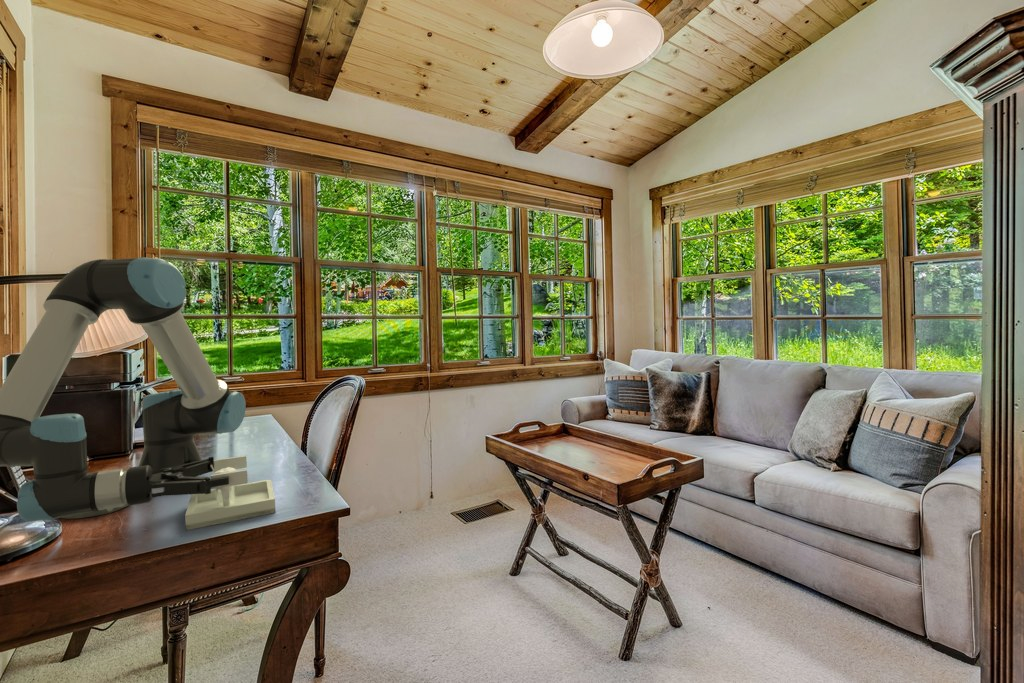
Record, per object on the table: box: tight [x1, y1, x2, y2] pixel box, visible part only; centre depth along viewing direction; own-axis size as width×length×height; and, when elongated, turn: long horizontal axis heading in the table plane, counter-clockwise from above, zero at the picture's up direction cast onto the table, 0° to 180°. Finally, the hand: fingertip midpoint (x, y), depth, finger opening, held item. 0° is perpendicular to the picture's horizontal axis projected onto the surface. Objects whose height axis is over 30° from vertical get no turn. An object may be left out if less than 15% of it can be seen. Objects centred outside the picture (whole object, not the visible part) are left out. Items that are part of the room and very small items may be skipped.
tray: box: [184, 479, 276, 531], centre depth 106 cm, size 16×16×3 cm
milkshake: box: [210, 465, 238, 508], centre depth 102 cm, size 4×5×10 cm
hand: (247, 468), depth 107 cm, fingers open, 13 cm apart
